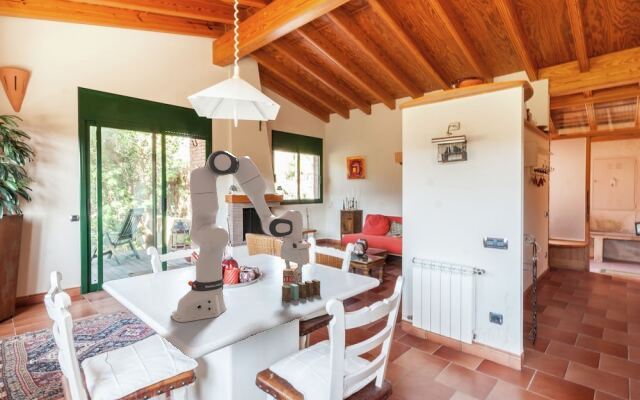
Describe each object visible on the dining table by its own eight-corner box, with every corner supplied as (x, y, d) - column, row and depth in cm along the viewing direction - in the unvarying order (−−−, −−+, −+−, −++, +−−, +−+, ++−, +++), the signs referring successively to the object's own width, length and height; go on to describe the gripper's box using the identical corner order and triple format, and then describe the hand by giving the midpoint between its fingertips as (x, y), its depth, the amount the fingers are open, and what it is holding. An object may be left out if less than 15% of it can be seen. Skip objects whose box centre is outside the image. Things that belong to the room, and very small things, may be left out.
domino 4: (316, 295, 167) (316, 281, 167) (311, 293, 170) (311, 279, 170) (320, 294, 168) (320, 281, 168) (315, 292, 172) (315, 279, 171)
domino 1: (286, 302, 156) (286, 288, 156) (282, 300, 159) (282, 286, 159) (290, 301, 157) (290, 287, 157) (285, 299, 161) (285, 285, 161)
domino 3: (309, 297, 164) (309, 283, 164) (304, 294, 168) (304, 281, 167) (313, 296, 165) (313, 282, 165) (308, 294, 169) (308, 280, 169)
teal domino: (294, 300, 159) (294, 286, 159) (289, 298, 162) (289, 284, 162) (298, 299, 160) (298, 285, 160) (293, 297, 164) (293, 283, 163)
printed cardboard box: (291, 281, 192) (291, 261, 192) (302, 282, 191) (302, 261, 191) (282, 293, 171) (282, 269, 171) (294, 293, 170) (294, 270, 170)
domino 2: (302, 298, 161) (302, 284, 161) (297, 296, 165) (297, 282, 165) (305, 298, 163) (305, 284, 162) (301, 295, 166) (300, 282, 166)
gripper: (277, 240, 167) (277, 267, 167) (299, 246, 150) (299, 275, 151) (288, 239, 170) (287, 266, 171) (310, 244, 154) (310, 274, 154)
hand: (293, 270), depth 160 cm, fingers open, 8 cm apart
